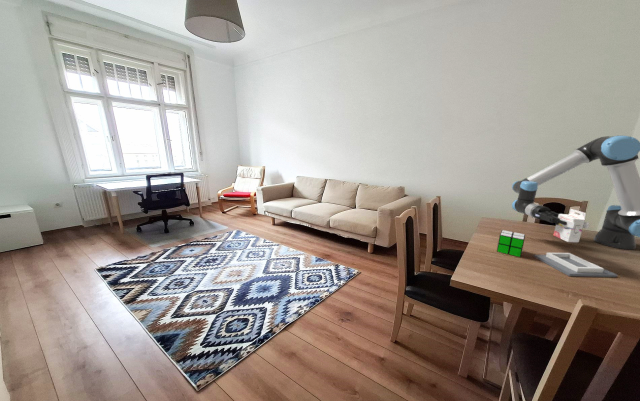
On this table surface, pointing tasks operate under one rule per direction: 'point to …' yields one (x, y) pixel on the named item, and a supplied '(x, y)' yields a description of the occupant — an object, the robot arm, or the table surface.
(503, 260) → the table surface
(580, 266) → the cartridge dock
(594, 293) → the table surface
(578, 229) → the ink cartridge box
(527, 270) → the table surface
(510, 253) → the puzzle cube
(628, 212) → the robot arm
